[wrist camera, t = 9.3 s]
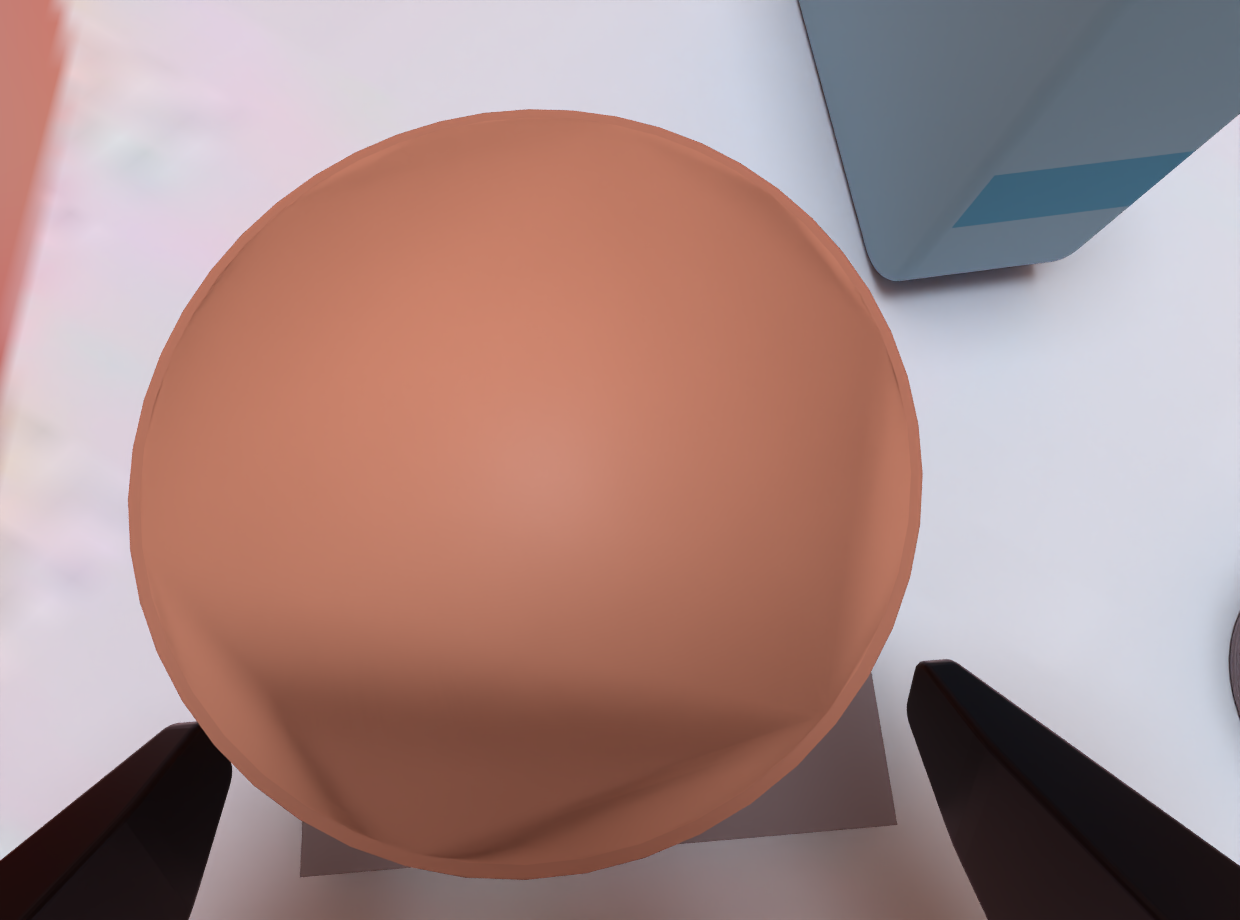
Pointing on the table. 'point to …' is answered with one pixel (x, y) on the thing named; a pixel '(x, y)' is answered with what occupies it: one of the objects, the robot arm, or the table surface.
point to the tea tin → (1236, 663)
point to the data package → (1014, 117)
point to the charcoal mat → (798, 803)
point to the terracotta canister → (525, 494)
